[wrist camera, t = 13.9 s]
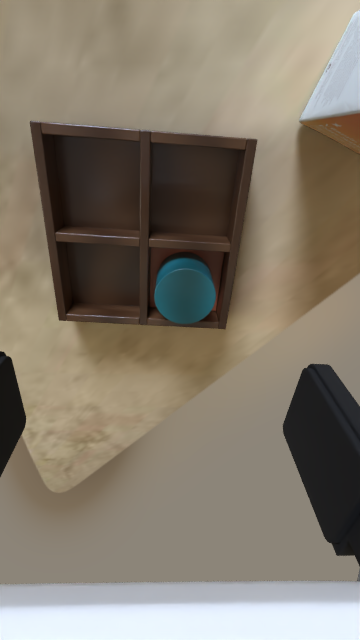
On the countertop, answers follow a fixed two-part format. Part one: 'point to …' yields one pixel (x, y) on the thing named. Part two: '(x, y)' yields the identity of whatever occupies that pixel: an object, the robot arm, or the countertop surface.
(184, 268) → the teal cylinder
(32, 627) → the robot arm
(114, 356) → the countertop surface
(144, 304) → the grid
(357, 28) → the small box
